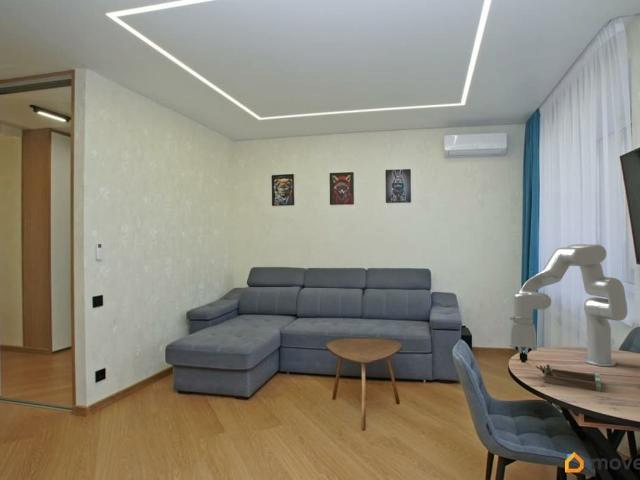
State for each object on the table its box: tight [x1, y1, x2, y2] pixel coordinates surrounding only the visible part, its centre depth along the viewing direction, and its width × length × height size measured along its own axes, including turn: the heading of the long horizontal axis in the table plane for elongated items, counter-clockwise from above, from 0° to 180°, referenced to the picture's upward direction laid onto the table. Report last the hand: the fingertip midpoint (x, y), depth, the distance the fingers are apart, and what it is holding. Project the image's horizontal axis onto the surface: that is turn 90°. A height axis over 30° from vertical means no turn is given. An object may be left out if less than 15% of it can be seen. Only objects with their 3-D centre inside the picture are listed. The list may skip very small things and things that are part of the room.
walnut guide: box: [543, 367, 602, 392], centre depth 166 cm, size 12×20×4 cm, turn 57°
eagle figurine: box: [535, 363, 558, 380], centre depth 170 cm, size 8×7×9 cm
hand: (523, 361), depth 175 cm, fingers closed
